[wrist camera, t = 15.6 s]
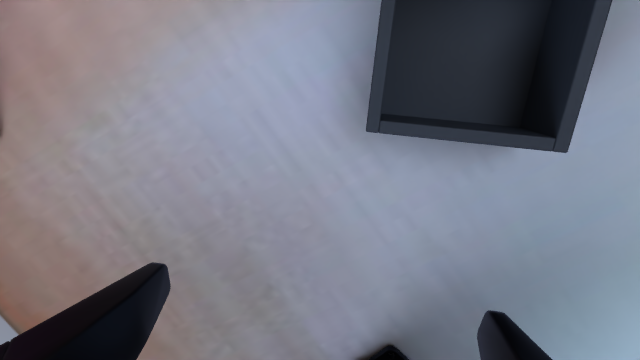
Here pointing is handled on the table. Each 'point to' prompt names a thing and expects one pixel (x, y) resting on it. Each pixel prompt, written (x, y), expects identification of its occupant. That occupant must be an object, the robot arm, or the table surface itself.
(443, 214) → the table surface
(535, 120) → the caddy
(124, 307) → the robot arm
